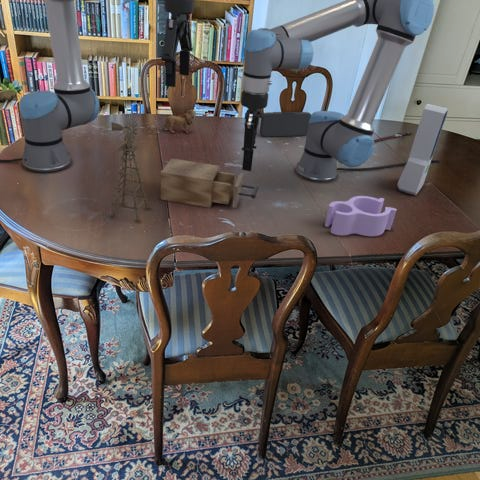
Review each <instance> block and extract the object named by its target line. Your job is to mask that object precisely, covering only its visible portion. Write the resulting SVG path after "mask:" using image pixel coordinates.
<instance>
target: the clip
mask: <svg viewBox="0 0 480 480" xmlns="http://www.w3.org/2000/svg"><path fill="white" fill-rule="evenodd" d="M384 201H385V198H383V197H379V198H376V197H373V196H368V195H357V196H352V197H350V198H349V200H347V201H339V200H338V201H337V200H335V201H332V202H330V203H329V205H328V208H327V214H326V218H325V222H324V227H326V228H329V227H330V226H331V227H330V233H331V234H333V235H336V236H348V235H353V234H356V235H360V236H364V237H365V236H366V237H378V236H381V235H382V234H384V232H385V230H387V231H391V229H392V226H393V222H394V219H395V216H396V213H397V210H398V209H397V208H395V207H391V206H385V207H384V211H383V212H382V209H383V206H384Z"/></svg>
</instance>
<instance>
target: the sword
mask: <svg viewBox="0 0 480 480" xmlns="http://www.w3.org/2000/svg"><path fill="white" fill-rule="evenodd" d="M412 134H414V132H413V133H410V134H409V135H412ZM406 135H408V134H402V132H398V133H397V134H396V133H395V134H392V135H389V136H383V137H379V138H377V139H373V140H374V143H377V142H381V141H384V140H389V139H393V138H398V137H403V136H406Z"/></svg>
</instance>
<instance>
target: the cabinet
mask: <svg viewBox="0 0 480 480" xmlns="http://www.w3.org/2000/svg"><path fill="white" fill-rule="evenodd" d="M218 171H219V172H221V166H220V165H217V164H210V163H205V162H204V163H203V162H198V161H190V160H185V159H179V158H172V157H171V158H170V160H169V161H168V162H167V164H166V165H165V166H164V167H163V169H162V170H161V171H160V200H163V201H167V202H174V203H181V204H186V205H191V206H198V207H204V208H209V209H211V207H212V205H213V203H214V202H211V200H212V185H213V180H214V179H215V177H216V175H217V173H218Z"/></svg>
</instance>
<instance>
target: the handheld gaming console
mask: <svg viewBox="0 0 480 480" xmlns="http://www.w3.org/2000/svg"><path fill="white" fill-rule="evenodd" d="M311 114H312V113H310V112H307V111H272V112H271V111H270V112H263V113H262V114H260V123H259V124H260V125H259V131H258V132H259V134H260V136H262V137H293V136H294V137H295V136H296V137H298V136H307V131H308V125H309V124H308V123H309V120H310V117H311Z"/></svg>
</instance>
